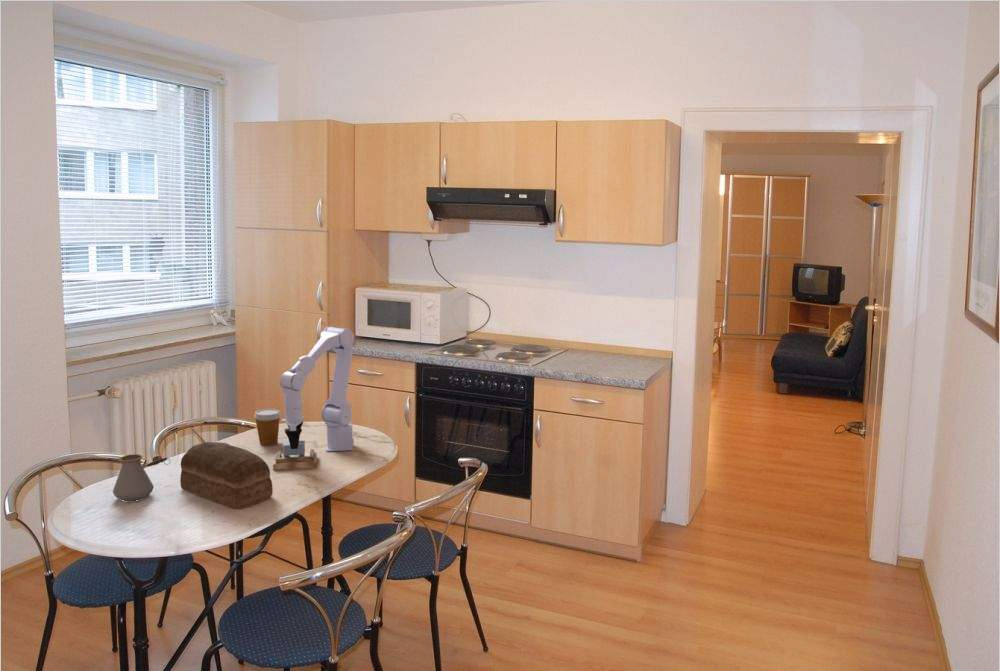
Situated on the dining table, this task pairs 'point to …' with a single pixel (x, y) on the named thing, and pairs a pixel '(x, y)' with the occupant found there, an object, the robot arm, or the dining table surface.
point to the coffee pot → (133, 478)
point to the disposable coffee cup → (267, 426)
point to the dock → (295, 461)
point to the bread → (226, 474)
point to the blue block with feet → (289, 451)
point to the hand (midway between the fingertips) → (295, 445)
